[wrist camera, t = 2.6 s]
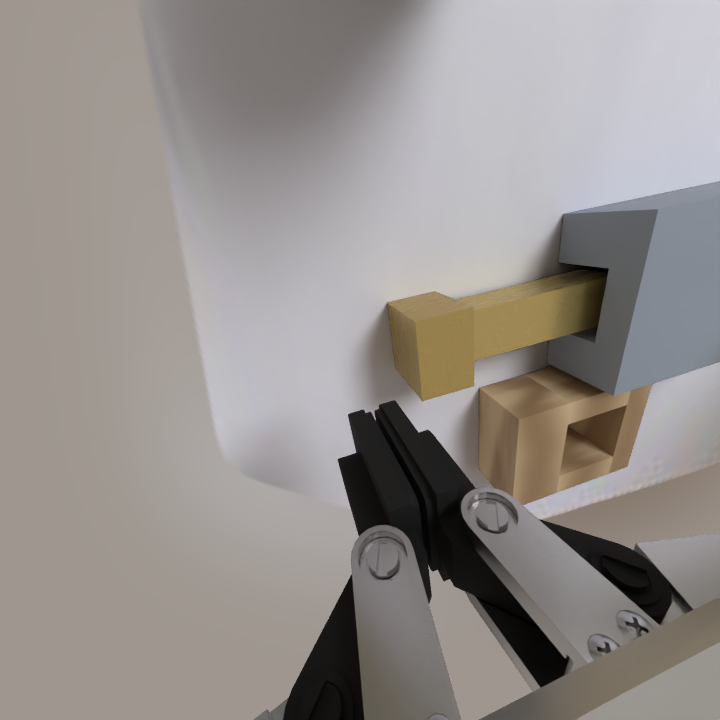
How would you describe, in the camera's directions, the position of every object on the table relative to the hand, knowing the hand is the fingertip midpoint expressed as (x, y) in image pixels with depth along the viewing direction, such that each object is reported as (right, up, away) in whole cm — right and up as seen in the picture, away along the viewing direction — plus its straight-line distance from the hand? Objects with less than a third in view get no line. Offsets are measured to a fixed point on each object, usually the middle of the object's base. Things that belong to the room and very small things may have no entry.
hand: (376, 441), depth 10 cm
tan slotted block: (+14, -1, +14) cm, 20 cm away
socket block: (+20, +9, +11) cm, 24 cm away
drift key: (+8, +6, +9) cm, 13 cm away
